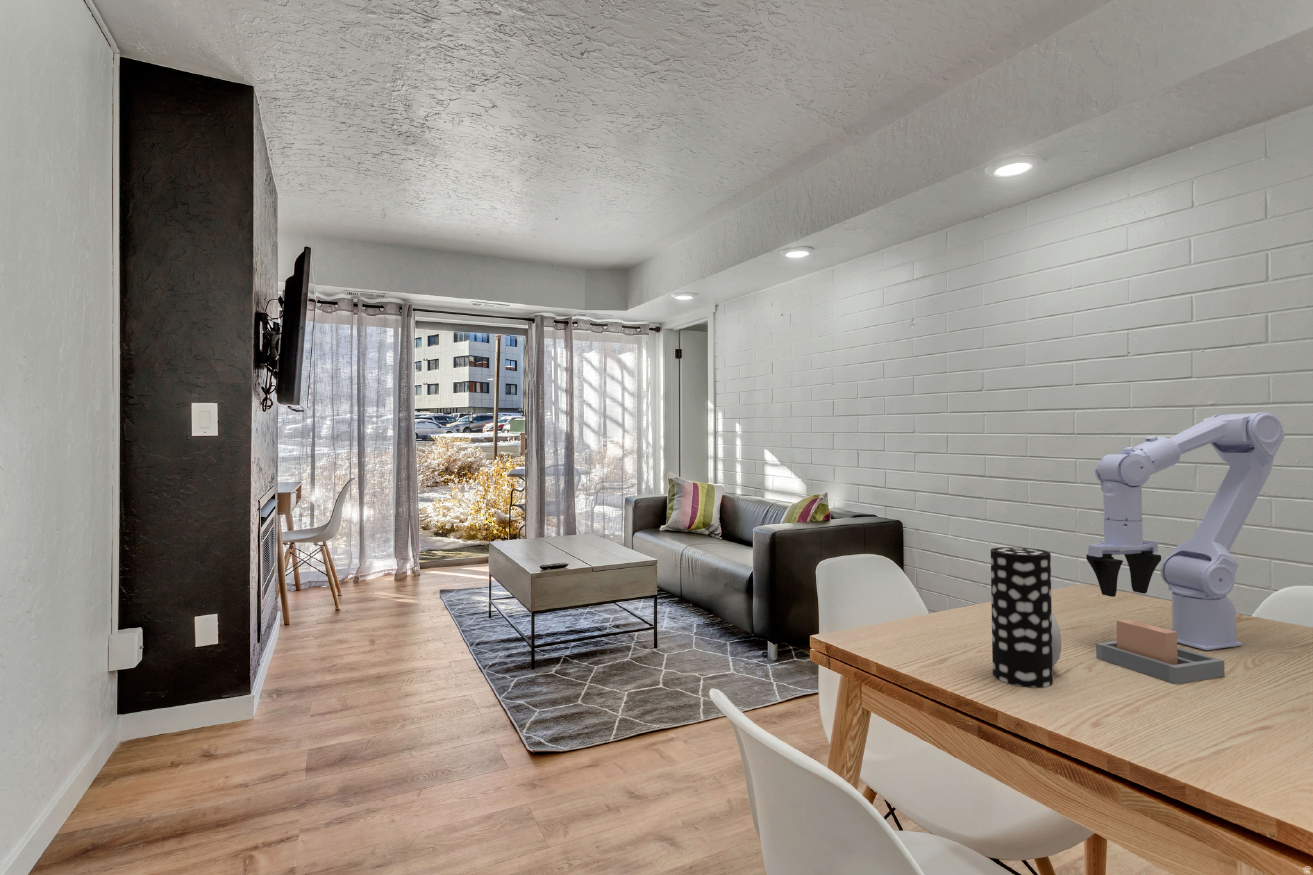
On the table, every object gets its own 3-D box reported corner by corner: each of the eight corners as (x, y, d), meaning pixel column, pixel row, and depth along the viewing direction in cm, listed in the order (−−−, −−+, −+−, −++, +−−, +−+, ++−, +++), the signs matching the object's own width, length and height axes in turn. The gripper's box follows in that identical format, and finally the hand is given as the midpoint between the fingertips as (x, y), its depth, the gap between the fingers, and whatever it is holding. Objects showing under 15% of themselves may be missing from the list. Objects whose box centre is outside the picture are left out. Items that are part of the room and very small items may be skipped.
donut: (1066, 678, 103) (1065, 614, 103) (1042, 676, 103) (1041, 613, 103) (1040, 657, 112) (1039, 599, 112) (1018, 656, 113) (1017, 599, 113)
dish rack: (1141, 651, 115) (1141, 637, 115) (1224, 676, 103) (1224, 660, 103) (1096, 657, 112) (1096, 643, 112) (1176, 684, 99) (1175, 667, 99)
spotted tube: (980, 673, 105) (978, 549, 105) (1017, 666, 108) (1015, 545, 108) (1027, 690, 97) (1025, 557, 98) (1065, 682, 100) (1063, 553, 101)
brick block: (1128, 660, 111) (1127, 619, 111) (1177, 676, 103) (1177, 631, 103) (1117, 661, 110) (1116, 620, 110) (1166, 677, 102) (1165, 633, 102)
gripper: (1130, 515, 125) (1132, 586, 125) (1072, 518, 121) (1073, 592, 120) (1169, 519, 118) (1170, 594, 118) (1109, 523, 114) (1110, 600, 114)
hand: (1124, 593), depth 119 cm, fingers open, 7 cm apart
